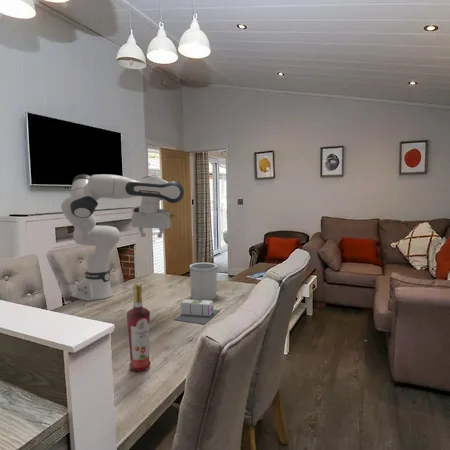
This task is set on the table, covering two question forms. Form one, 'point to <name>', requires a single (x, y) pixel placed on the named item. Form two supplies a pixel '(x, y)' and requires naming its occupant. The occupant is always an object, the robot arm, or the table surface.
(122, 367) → the table surface
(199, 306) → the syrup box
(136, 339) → the liquor
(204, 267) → the utensil holder
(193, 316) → the mat
